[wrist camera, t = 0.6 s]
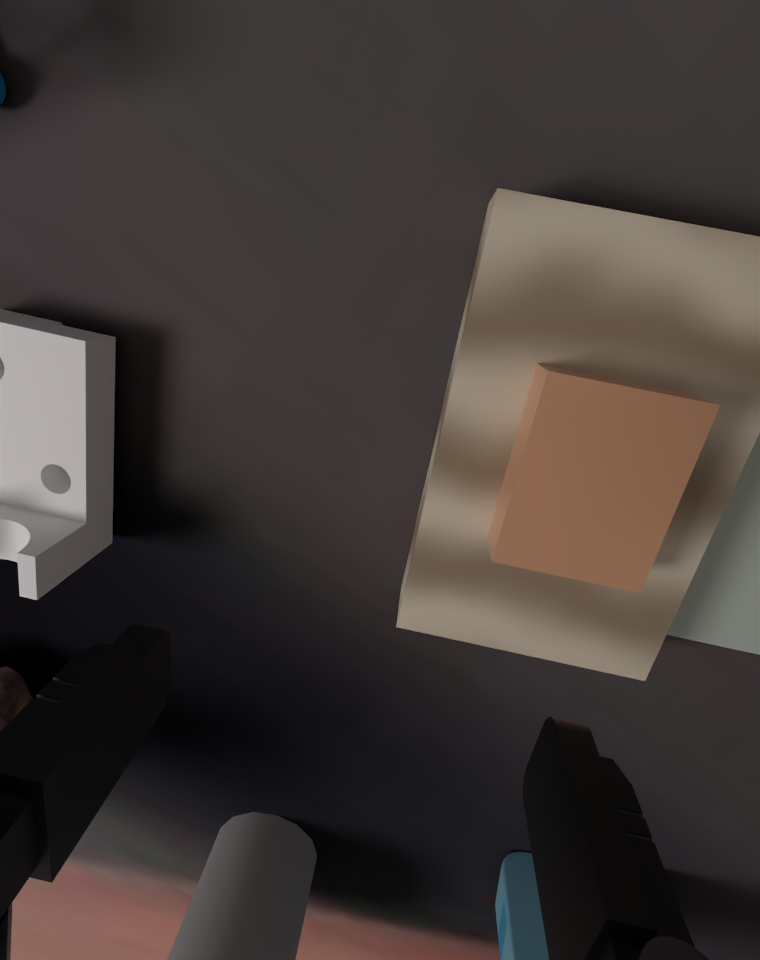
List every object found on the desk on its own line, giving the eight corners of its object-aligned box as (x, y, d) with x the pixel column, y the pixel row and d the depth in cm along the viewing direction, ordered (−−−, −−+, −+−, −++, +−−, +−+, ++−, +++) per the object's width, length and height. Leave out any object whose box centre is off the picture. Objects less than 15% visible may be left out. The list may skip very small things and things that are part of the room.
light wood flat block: (488, 204, 25) (497, 188, 21) (780, 258, 24) (842, 252, 21) (401, 588, 33) (396, 626, 29) (620, 635, 32) (645, 681, 28)
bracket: (121, 535, 34) (37, 600, 27) (18, 511, 34) (-92, 569, 27) (125, 335, 29) (25, 349, 22) (6, 309, 29) (-131, 314, 22)
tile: (536, 363, 23) (547, 371, 21) (691, 393, 23) (720, 405, 21) (486, 537, 26) (491, 561, 24) (622, 566, 26) (640, 593, 24)
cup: (304, 894, 44) (268, 1057, 35) (212, 867, 44) (151, 1023, 35) (326, 829, 41) (292, 988, 32) (226, 800, 41) (164, 950, 32)
